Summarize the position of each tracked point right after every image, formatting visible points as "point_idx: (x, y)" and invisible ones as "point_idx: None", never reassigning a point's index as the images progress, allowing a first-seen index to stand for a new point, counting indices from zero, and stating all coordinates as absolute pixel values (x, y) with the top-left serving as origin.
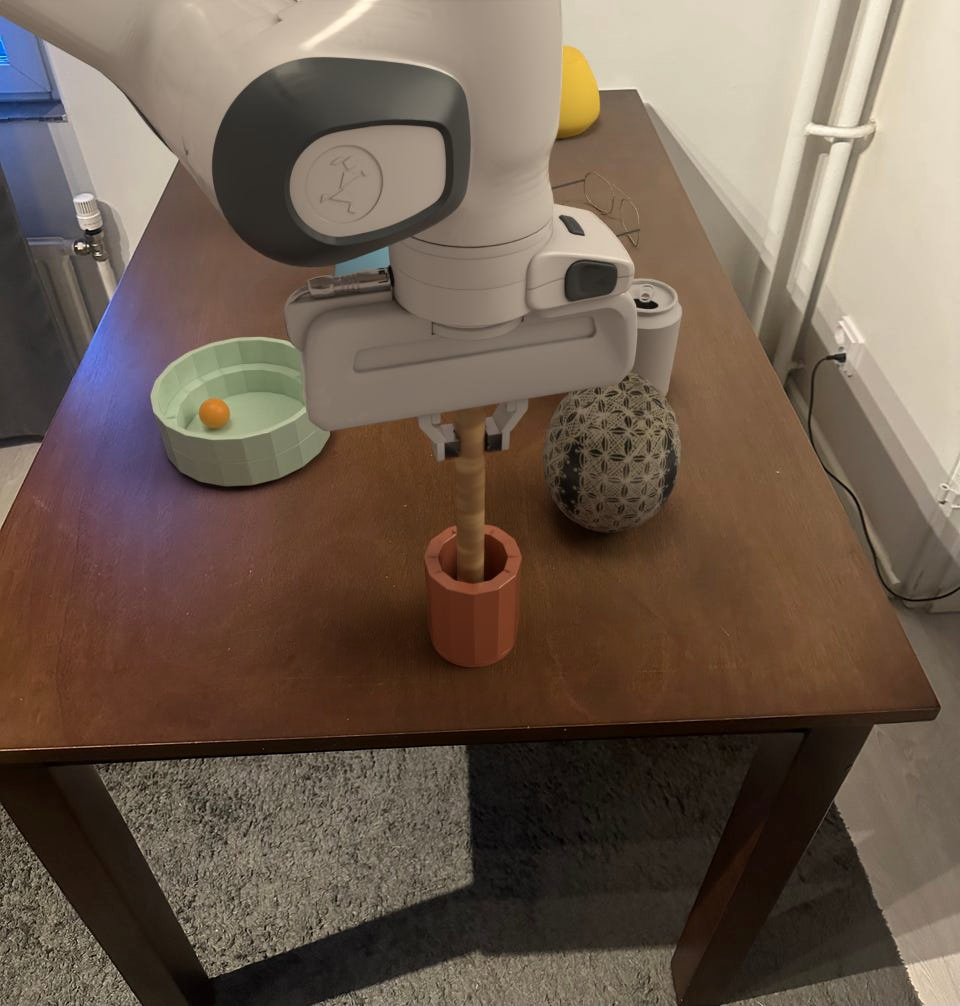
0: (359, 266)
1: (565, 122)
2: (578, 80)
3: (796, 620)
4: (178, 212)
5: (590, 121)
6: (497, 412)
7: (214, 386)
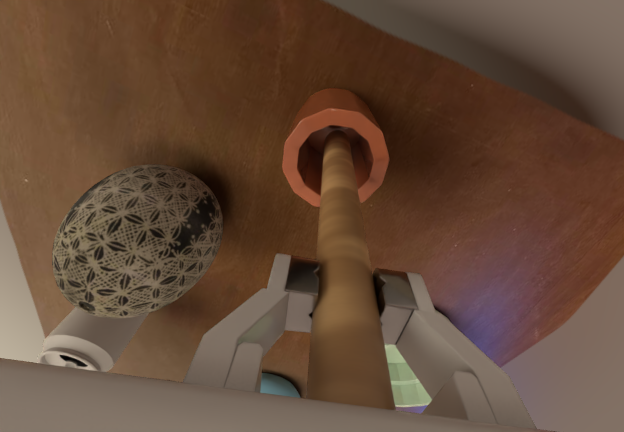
0: None
1: None
2: None
3: (31, 7)
4: None
5: None
6: (274, 337)
7: (406, 374)
